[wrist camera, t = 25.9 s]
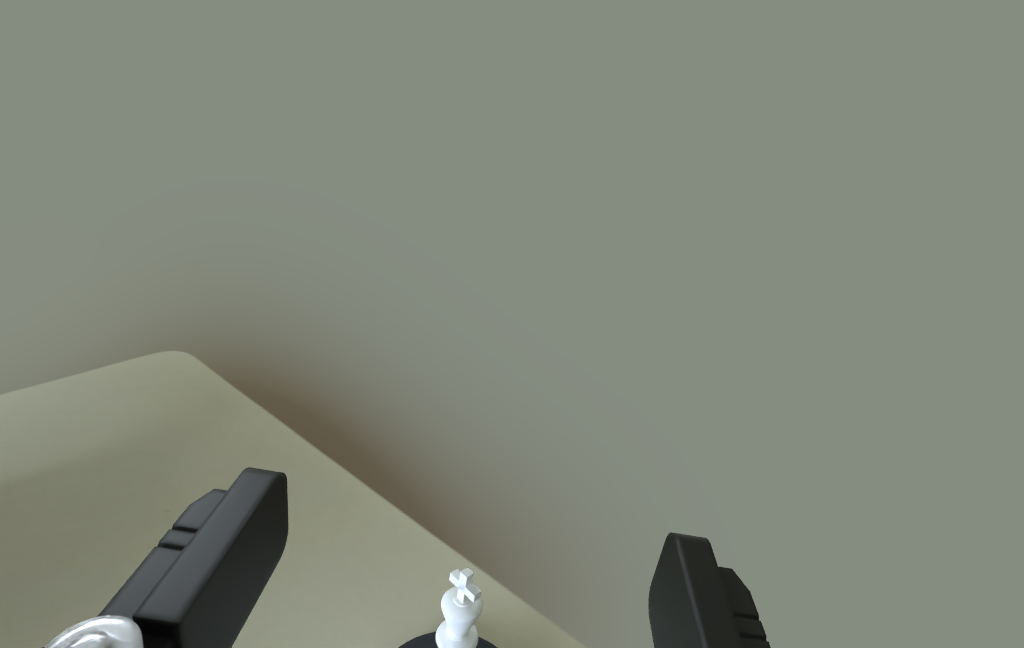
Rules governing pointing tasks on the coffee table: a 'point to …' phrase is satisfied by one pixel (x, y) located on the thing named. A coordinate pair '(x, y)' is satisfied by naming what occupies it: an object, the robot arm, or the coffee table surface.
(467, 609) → the chess piece
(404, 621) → the coffee table surface
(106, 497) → the coffee table surface
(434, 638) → the coaster
